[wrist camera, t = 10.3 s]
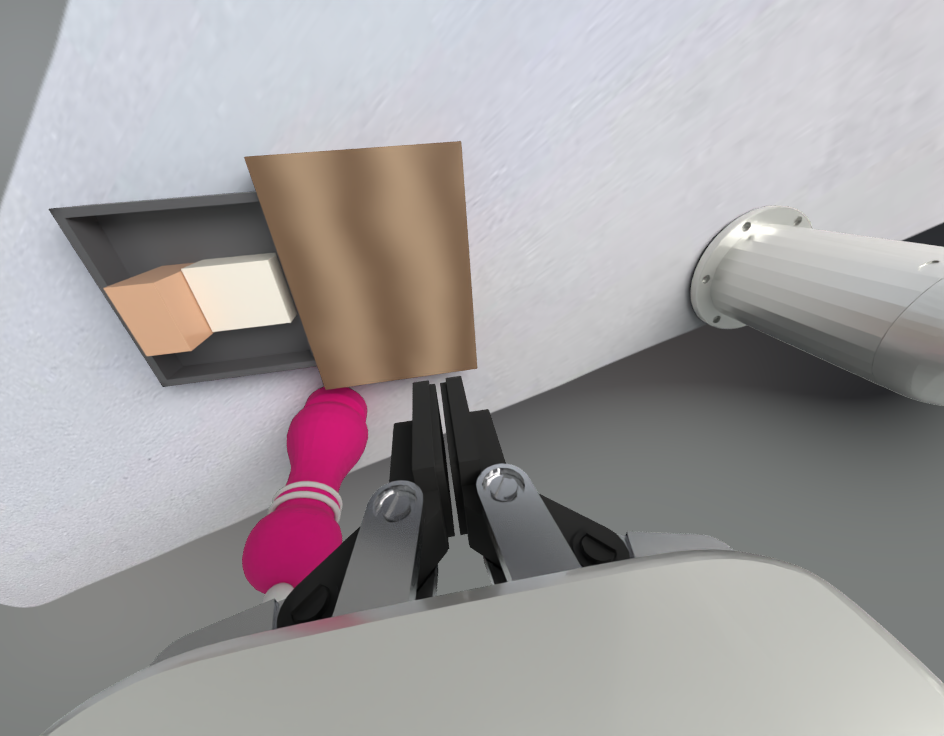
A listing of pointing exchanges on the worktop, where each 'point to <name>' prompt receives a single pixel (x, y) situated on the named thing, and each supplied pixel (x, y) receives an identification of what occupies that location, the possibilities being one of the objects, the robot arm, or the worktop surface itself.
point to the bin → (179, 242)
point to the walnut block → (374, 257)
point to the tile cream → (241, 291)
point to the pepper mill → (308, 493)
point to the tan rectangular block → (161, 310)
